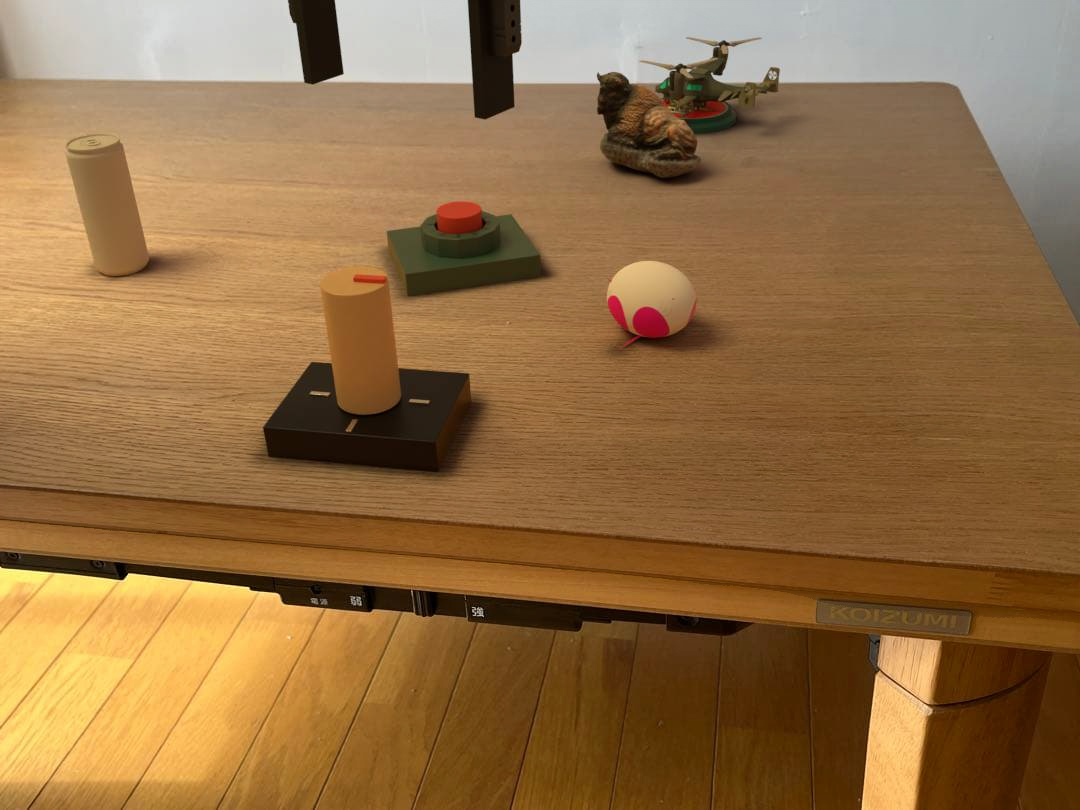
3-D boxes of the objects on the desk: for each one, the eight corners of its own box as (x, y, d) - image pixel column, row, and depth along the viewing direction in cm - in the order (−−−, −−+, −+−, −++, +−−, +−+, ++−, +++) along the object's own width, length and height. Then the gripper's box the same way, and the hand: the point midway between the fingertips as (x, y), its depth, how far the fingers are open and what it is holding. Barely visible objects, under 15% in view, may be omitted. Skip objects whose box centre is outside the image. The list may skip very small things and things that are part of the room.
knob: (328, 412, 75) (309, 288, 70) (349, 380, 79) (333, 260, 74) (390, 417, 74) (375, 292, 70) (409, 384, 78) (396, 263, 73)
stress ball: (601, 362, 92) (568, 318, 87) (648, 284, 94) (619, 237, 88) (676, 388, 87) (646, 344, 82) (724, 306, 89) (697, 258, 84)
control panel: (268, 457, 75) (261, 425, 74) (315, 390, 83) (310, 359, 81) (438, 473, 73) (435, 439, 72) (471, 402, 81) (469, 371, 79)
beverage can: (101, 282, 100) (68, 154, 94) (91, 264, 104) (59, 138, 97) (155, 270, 102) (126, 143, 96) (144, 252, 106) (115, 129, 99)
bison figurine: (709, 171, 120) (714, 77, 115) (678, 191, 115) (682, 94, 110) (613, 153, 126) (614, 63, 120) (580, 172, 121) (579, 79, 116)
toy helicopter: (683, 92, 145) (686, 26, 141) (795, 108, 138) (802, 39, 133) (608, 136, 131) (609, 64, 126) (729, 156, 124) (733, 81, 119)
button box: (407, 297, 96) (403, 254, 94) (388, 252, 104) (384, 212, 102) (541, 277, 98) (539, 235, 96) (512, 235, 107) (510, 195, 104)
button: (442, 239, 97) (441, 220, 96) (433, 222, 100) (432, 204, 100) (487, 233, 98) (486, 214, 97) (476, 216, 101) (475, 198, 100)
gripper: (619, -346, 51) (615, 110, 62) (253, -322, 64) (304, 53, 75) (521, -349, 46) (536, 148, 57) (145, -322, 59) (217, 80, 70)
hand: (405, 95), depth 66 cm, fingers open, 13 cm apart
